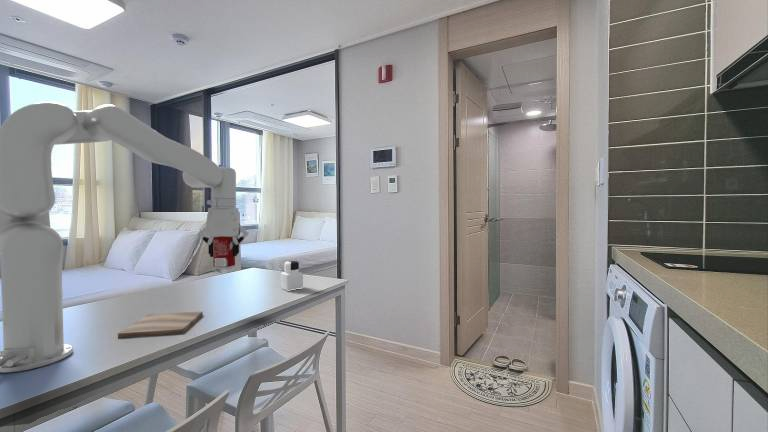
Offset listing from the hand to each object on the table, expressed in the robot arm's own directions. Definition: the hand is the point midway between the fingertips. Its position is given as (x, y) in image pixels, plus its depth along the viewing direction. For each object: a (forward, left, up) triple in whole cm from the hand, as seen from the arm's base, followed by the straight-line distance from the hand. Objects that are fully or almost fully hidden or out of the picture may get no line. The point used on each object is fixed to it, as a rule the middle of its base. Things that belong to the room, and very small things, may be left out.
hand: (224, 255), depth 112 cm
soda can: (0, 0, -4) cm, 4 cm away
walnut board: (-12, +14, -19) cm, 26 cm away
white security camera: (+26, -20, -19) cm, 38 cm away
